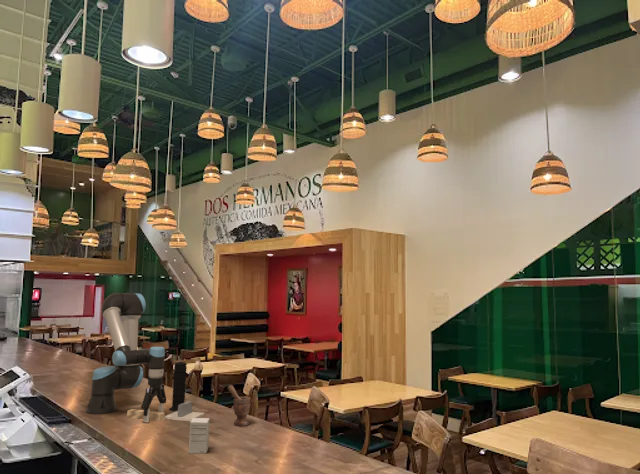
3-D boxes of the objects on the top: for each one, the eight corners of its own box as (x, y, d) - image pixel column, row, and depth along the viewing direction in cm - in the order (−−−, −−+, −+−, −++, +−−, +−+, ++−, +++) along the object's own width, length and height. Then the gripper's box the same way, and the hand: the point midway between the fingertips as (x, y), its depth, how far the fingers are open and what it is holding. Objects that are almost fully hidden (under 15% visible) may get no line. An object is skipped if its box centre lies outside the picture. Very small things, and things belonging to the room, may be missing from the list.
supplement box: (191, 448, 212) (192, 417, 213) (208, 448, 212) (210, 417, 214) (187, 453, 204) (189, 422, 206) (206, 453, 205) (207, 422, 206)
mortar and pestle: (233, 428, 244) (234, 386, 246) (223, 425, 250) (225, 384, 252) (252, 425, 251) (254, 384, 254) (243, 421, 258) (245, 382, 260)
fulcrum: (164, 418, 259) (164, 404, 260) (177, 412, 272) (178, 399, 273) (192, 421, 255) (192, 407, 256) (204, 415, 269) (204, 401, 270)
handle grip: (165, 410, 277) (182, 411, 275) (168, 362, 280) (184, 363, 278) (174, 406, 287) (190, 407, 285) (176, 360, 290) (192, 360, 288)
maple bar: (126, 418, 259) (127, 410, 260) (131, 416, 263) (132, 409, 263) (159, 422, 253) (160, 414, 254) (164, 420, 257) (164, 412, 257)
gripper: (149, 381, 247) (146, 425, 244) (174, 373, 271) (172, 414, 268) (135, 380, 248) (132, 424, 246) (161, 373, 272) (159, 413, 270)
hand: (153, 419), depth 257 cm, fingers open, 13 cm apart
